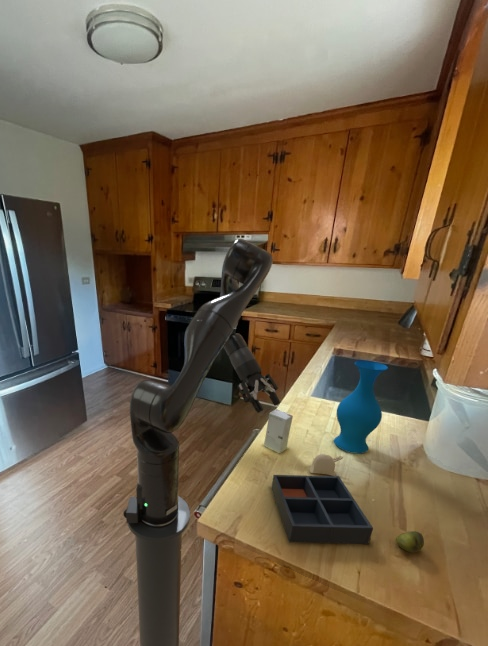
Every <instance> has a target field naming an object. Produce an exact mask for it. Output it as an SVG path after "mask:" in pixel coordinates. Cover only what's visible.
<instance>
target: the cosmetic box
mask: <svg viewBox="0 0 488 646" xmlns="http://www.w3.org/2000/svg"><path fill="white" fill-rule="evenodd" d="M293 417H294V416H293V415H292V414H290V413H288V412H286V411H283V410H280V409H278V408H275V409H274V410H272V411H270V412H269V414H268V419H267V424H266V432H265V436H264V437H265V438H264V443H263V444H264V445H263V446H264V447H266V448H267V449H269V450H272V451H273V452H275V453H278V454H281V453H282V452H284V451H285V450H286V449H287V448H288V442H289V438H290V433H291V427H292V422H293Z"/></svg>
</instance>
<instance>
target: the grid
mask: <svg viewBox="0 0 488 646" xmlns="http://www.w3.org/2000/svg"><path fill="white" fill-rule="evenodd" d="M270 491H271V493H272V495H273V498H274V501H275V504H276V507H277V510H278V513H279V516H280V519H281V523H282V524H283V527H284V530H285V531H284V532H285V534H286V537H287V539H288V542H289V543H304V544H305V543H308V544H309V543H310V544H311V543H312V544H344V545H345V544H349V545H351V544H352V545H369V542H370V540H371V536H372V533H373V530H374V527H373V526H372V524H371V522H370V521H369V520H368V517H366V515H365V514H364V512H363V510H362V509H361V506H359V504H358V502H357V501H356V499H355V498H354V496H353V495H352V493H351V492H350V491H349V489H348V487H347V486H346V485H345V483H344V481H343V480H342V478H341V477H340V476H339V475H338V476H331V475H300V474H298V475H297V474H273V475H272V482H271V486H270Z"/></svg>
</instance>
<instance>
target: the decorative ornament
mask: <svg viewBox="0 0 488 646" xmlns="http://www.w3.org/2000/svg"><path fill="white" fill-rule="evenodd" d="M343 459H344V456H343V455H340V456H337V457H334V458H333V457H332V456H331V455H329V454H324V453H322V454H321V453H319V454H317V455H316V456H314V458H313V459H312V462H311V465H310V466H309V473H310V474H322V475H326V476H336V471H335V468H336V463H337V462H340V461H341V460H343Z"/></svg>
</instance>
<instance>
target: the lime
mask: <svg viewBox="0 0 488 646" xmlns="http://www.w3.org/2000/svg"><path fill="white" fill-rule="evenodd" d="M395 542H396V544H397V545H398V547H400V548H401V549H402V550H404V551H406V552H408V553H418V552H420V551H421V550H422V549H423V548H424V546H425V539H424V536H423V534H422V533H421V532H419V531H415V530H414V531H413V530H412V531H407V532H404V533H402V534H399V535H398V536H396V538H395Z"/></svg>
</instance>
